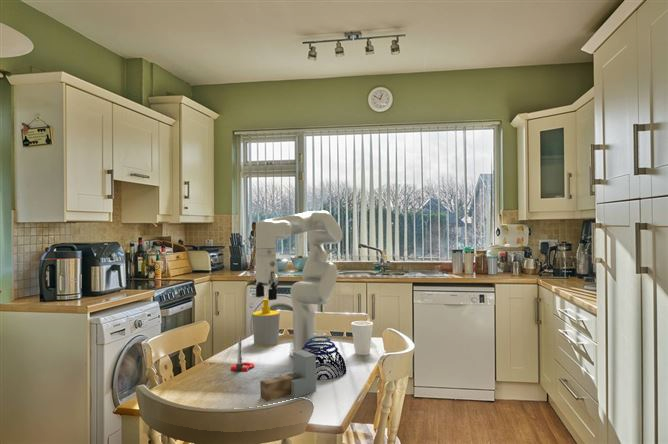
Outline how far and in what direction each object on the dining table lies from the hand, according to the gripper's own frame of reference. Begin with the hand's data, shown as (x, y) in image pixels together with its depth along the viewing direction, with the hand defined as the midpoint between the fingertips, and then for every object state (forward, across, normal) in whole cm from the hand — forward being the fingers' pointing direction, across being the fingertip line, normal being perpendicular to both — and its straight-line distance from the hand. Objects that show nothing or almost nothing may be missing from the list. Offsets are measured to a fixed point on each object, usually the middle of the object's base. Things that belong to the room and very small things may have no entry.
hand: (266, 298), depth 171 cm
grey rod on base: (+29, +12, +4) cm, 31 cm away
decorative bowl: (+29, -11, -17) cm, 35 cm away
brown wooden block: (+28, -23, +8) cm, 37 cm away
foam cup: (+28, -2, -46) cm, 54 cm away
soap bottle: (+28, +39, -21) cm, 53 cm away
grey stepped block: (+28, -23, +1) cm, 36 cm away
